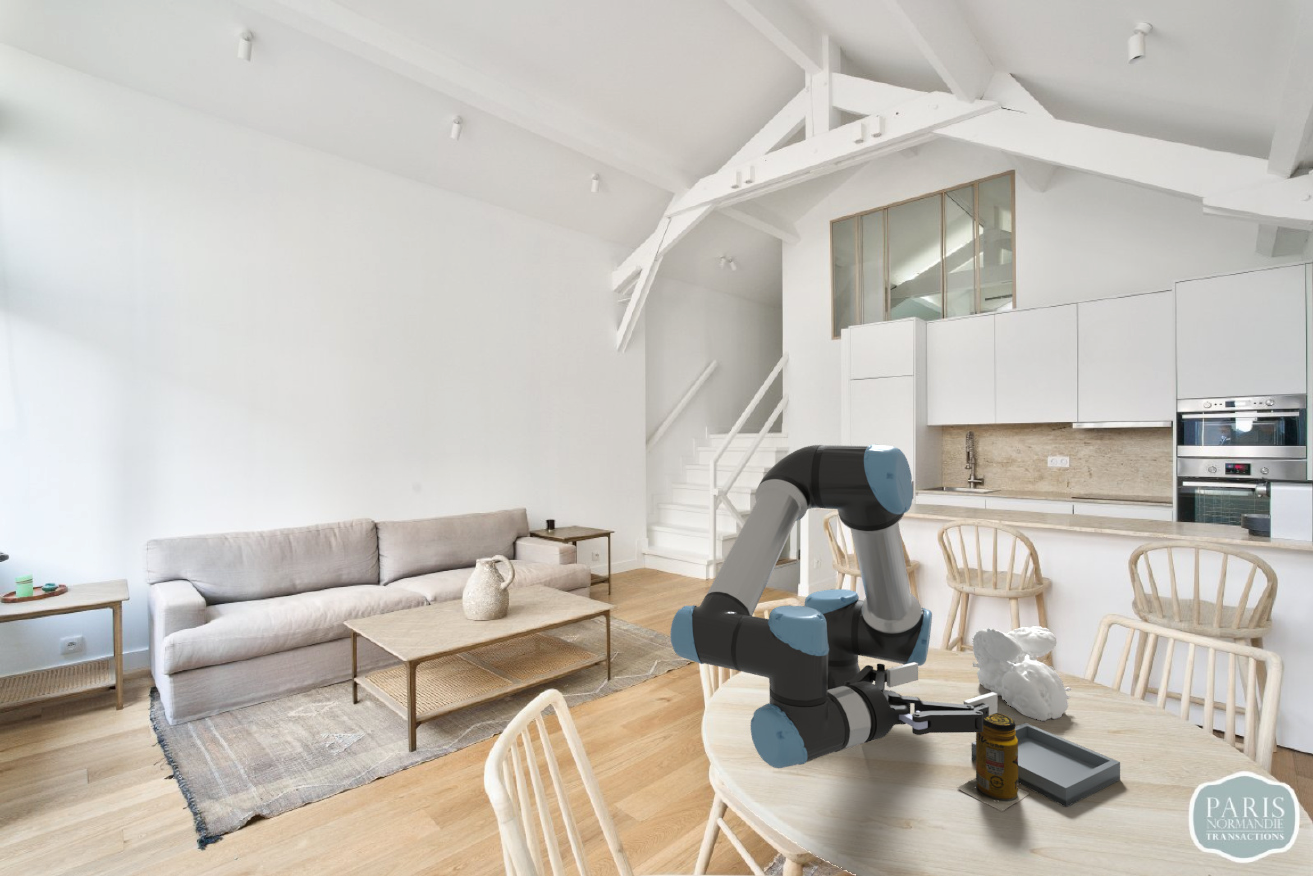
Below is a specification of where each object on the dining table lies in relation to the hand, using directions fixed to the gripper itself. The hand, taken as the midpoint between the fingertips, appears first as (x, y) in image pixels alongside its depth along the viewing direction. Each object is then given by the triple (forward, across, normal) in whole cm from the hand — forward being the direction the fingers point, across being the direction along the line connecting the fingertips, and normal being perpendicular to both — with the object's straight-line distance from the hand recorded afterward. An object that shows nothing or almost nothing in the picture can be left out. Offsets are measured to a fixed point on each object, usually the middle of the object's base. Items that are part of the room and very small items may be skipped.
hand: (953, 685), depth 95 cm
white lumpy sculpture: (+48, -19, -19) cm, 55 cm away
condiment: (+10, 0, -20) cm, 22 cm away
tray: (+24, 0, -19) cm, 31 cm away
